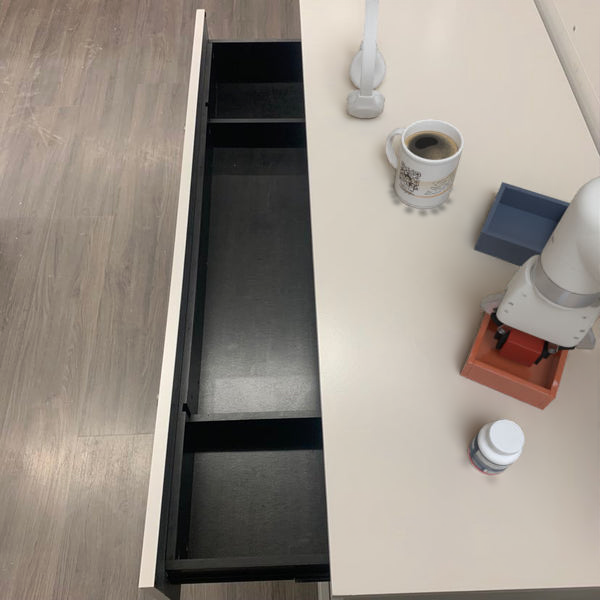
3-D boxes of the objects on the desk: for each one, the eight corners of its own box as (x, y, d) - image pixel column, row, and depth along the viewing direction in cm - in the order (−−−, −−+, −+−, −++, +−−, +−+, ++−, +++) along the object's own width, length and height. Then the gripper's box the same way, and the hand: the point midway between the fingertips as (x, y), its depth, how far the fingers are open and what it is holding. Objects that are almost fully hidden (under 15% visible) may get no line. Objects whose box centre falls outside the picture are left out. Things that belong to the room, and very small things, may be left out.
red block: (538, 341, 74) (549, 326, 70) (529, 367, 72) (541, 354, 68) (506, 329, 75) (516, 314, 71) (497, 354, 73) (507, 340, 69)
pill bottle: (483, 427, 71) (501, 404, 63) (516, 455, 69) (540, 434, 61) (458, 455, 69) (475, 435, 61) (492, 485, 67) (513, 467, 59)
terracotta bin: (563, 341, 77) (575, 326, 73) (542, 410, 72) (555, 398, 68) (484, 311, 80) (492, 295, 76) (459, 375, 75) (467, 361, 71)
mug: (397, 213, 91) (406, 166, 81) (381, 164, 97) (387, 114, 87) (457, 204, 91) (472, 156, 82) (437, 155, 97) (449, 105, 88)
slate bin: (563, 223, 88) (574, 204, 84) (546, 275, 83) (557, 258, 79) (494, 200, 91) (502, 181, 87) (473, 249, 86) (480, 232, 82)
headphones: (384, 73, 110) (394, -27, 93) (382, 134, 101) (393, 35, 84) (350, 72, 111) (354, -28, 94) (344, 133, 101) (347, 34, 84)
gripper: (659, 276, 57) (587, 350, 73) (503, 224, 61) (467, 304, 77) (647, 332, 54) (574, 396, 69) (484, 272, 58) (450, 345, 74)
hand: (518, 347), depth 73 cm, fingers closed on red block, 4 cm apart
